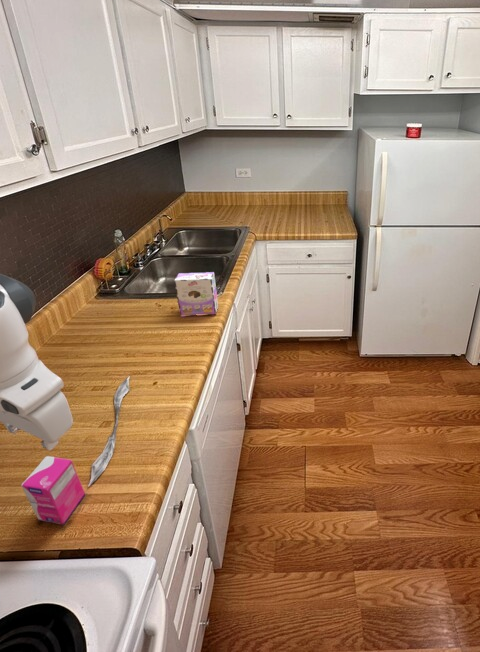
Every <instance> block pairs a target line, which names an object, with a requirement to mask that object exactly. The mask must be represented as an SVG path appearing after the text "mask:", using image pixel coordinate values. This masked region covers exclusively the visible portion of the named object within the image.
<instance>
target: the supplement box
mask: <svg viewBox="0 0 480 652" xmlns="http://www.w3.org/2000/svg"><path fill="white" fill-rule="evenodd" d="M20 486H21V488H22V491H23V492H24V494H25V496H26V498H27V500H28V502H29V504H30V506H31V508H32V510H33V512H34V514H35V516H36V518H37V519H38V521H41V522H48V523H52V524H53V523H54V524H58V525H61V526H64V525H65V524H66V523H67V522H68V520H69V519H70V517H71V515H72V514H73V513H74V512H75V510H76V509H77V507H78V506H79V504H80V503H81V502H82V500H83V499H84V497H86V493H85V490H84V488H83V485H82V483H81V480H80V477H79V476H78V472H77V470H76V468H75V466H74V463H73V460H72V459H68V458H62V457H56V456H50V455H49V456H48V455H46V456H45V457H44V458H43V459H42V460H41V462H40V463H39V464H38V465H37V466H36V468H35V469H34V470H33V471H32V472H31V473H30V474H29V476H27V478H26V479H25V480H24V481H23V482H22V483H21V484H20Z"/></svg>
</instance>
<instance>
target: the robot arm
mask: <svg viewBox="0 0 480 652" xmlns="http://www.w3.org/2000/svg"><path fill="white" fill-rule="evenodd" d="M35 308H36V295H35V293H34V292H33V291H32V289H31V288H30V287H29V286H28V285H27V284H26V283H23V282H22V281H19V280H18V279H15V278H13V277H10V276H7V275H5V274H3V273H0V423H1V424H3V426H5V429H6V430H7V432H9V433H11V434H14V435H15V434H17V433H18V432H19V431H23V432H25V433H27V434H29V435H32V436H33V437H36V438H38V439H40V440H41V441H40V444H41V446H42V448H43V449H45V450H47V451H52V450H53V449H54V448H55V447H56V446H58V444H59V442H60V439H61V438H62V437H63V436H65V435H66V434H67V433H68V432H69V431H70V430H71V429H72V427H73V425H74V419H73V415H72V411H71V408H70V405H69V402H68V400H67V397H66V396H65V394H64V392H62V389H63V388H64V387H65V386H64V385H65V384H64V381H63V379H62V378H61V377H60V376H59V375H57V374H56V373H54V372H53V371H52V370H51V369H49V368H48V367H47V366H46V365H45V364H44V363H43V361H42V360H41V359H40V358H39V357H38V355H37V352H36V350H35V348H34V347H33V346H32V345H31V344H30V342H29V331H28V329H27V326H26V324H28V323H29V322H30V321H31V320H32V317H33V316H34V312H35Z"/></svg>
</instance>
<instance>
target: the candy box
mask: <svg viewBox="0 0 480 652" xmlns="http://www.w3.org/2000/svg"><path fill="white" fill-rule="evenodd" d="M173 282H174V287H175V288H174V289H175V293H176V298H177V305H178V310H179V311H178V312H179V317H181V318H186V317H187V316H180V315H196V314H216V315H217V313H218V310H219V300H218V291H217V285H216V284H217V283H216V277H215V271H210V272H209V271H205V272H180V273H178V274H177V275H176V277H175V279H174V280H173ZM217 309H218V310H217ZM216 312H217V313H216ZM205 316H208V315H197V316H196V317H205Z"/></svg>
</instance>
